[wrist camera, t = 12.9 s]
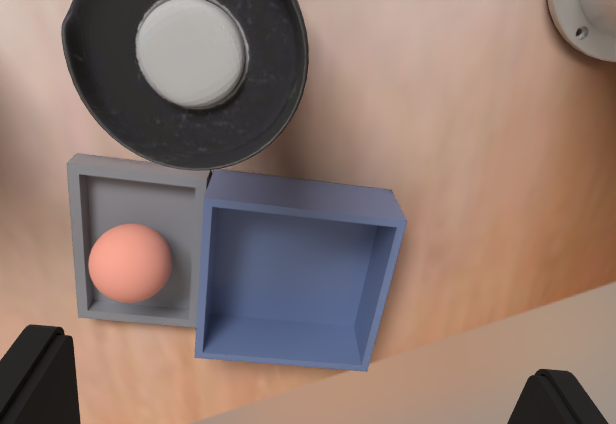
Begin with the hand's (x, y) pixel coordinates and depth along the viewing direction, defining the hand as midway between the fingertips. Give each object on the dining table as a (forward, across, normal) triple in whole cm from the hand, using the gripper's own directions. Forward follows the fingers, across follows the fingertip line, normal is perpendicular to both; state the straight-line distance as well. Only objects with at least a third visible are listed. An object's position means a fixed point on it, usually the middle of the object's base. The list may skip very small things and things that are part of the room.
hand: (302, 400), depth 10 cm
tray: (+28, +11, +14) cm, 33 cm away
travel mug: (+28, +4, -5) cm, 29 cm away
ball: (+24, +11, +13) cm, 30 cm away
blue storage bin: (+28, -2, +14) cm, 31 cm away
